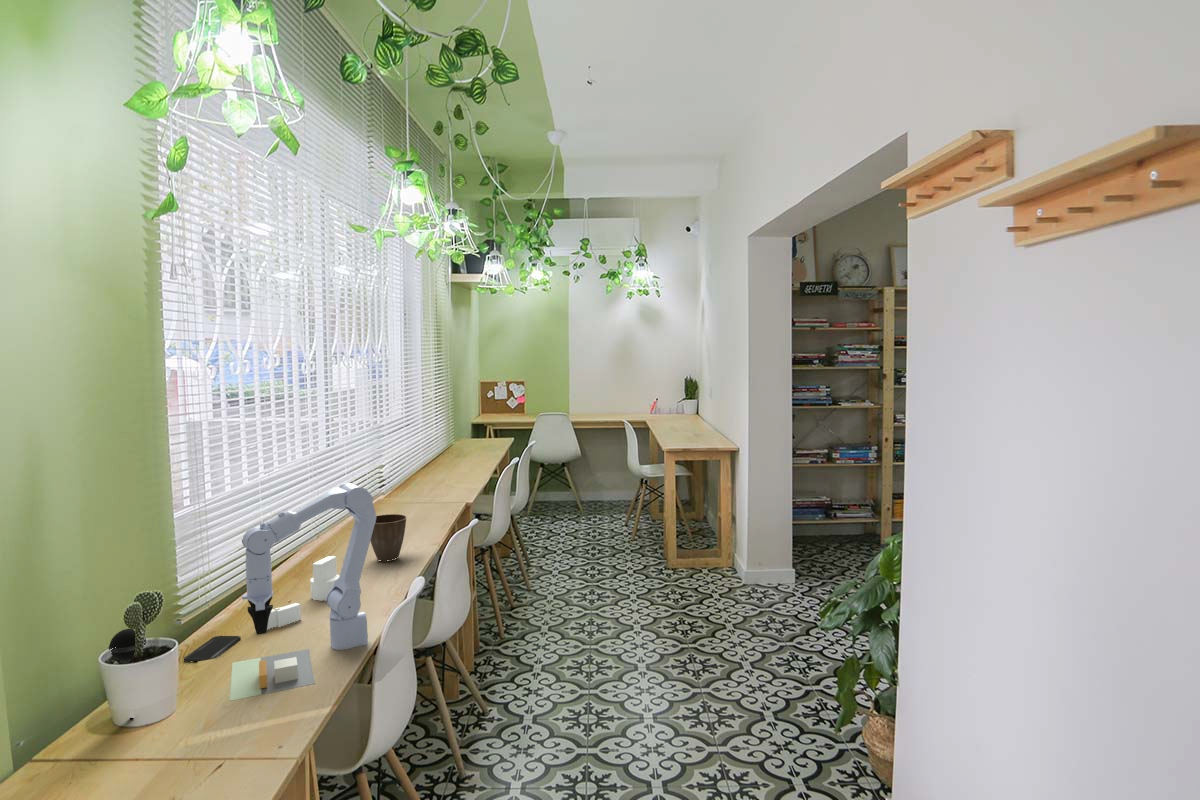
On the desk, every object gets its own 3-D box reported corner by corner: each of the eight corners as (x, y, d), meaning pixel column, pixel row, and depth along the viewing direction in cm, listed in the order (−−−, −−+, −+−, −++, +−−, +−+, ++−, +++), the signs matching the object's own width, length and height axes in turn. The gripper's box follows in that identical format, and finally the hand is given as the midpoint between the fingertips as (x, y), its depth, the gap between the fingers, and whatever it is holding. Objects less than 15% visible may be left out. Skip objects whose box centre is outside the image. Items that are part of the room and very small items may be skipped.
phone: (242, 636, 196) (211, 659, 181) (242, 639, 196) (211, 663, 182) (214, 635, 197) (181, 659, 182) (214, 639, 197) (181, 663, 182)
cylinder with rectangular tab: (321, 590, 236) (320, 555, 235) (345, 592, 234) (344, 556, 233) (305, 599, 227) (303, 563, 226) (330, 601, 225) (328, 564, 224)
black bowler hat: (144, 724, 151) (139, 633, 150) (107, 729, 149) (102, 637, 148) (154, 708, 158) (150, 621, 156) (119, 713, 156) (114, 625, 154)
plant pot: (360, 564, 264) (358, 522, 263) (377, 553, 279) (376, 513, 278) (398, 565, 263) (397, 523, 262) (413, 554, 277) (412, 514, 276)
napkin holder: (307, 616, 214) (306, 598, 213) (302, 631, 203) (301, 611, 202) (253, 622, 210) (252, 603, 209) (245, 637, 199) (244, 617, 198)
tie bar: (266, 671, 173) (266, 659, 172) (267, 687, 165) (266, 674, 164) (259, 673, 172) (259, 661, 172) (259, 688, 164) (259, 676, 164)
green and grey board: (308, 652, 187) (308, 648, 187) (315, 687, 167) (315, 683, 167) (232, 666, 179) (232, 662, 179) (229, 705, 159) (229, 700, 159)
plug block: (296, 670, 174) (296, 656, 174) (298, 678, 169) (297, 664, 169) (274, 674, 172) (274, 660, 171) (275, 683, 167) (274, 669, 167)
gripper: (241, 570, 180) (244, 622, 181) (240, 587, 167) (243, 642, 168) (271, 566, 183) (274, 617, 184) (273, 582, 170) (275, 637, 171)
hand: (261, 629), depth 176 cm, fingers open, 5 cm apart
